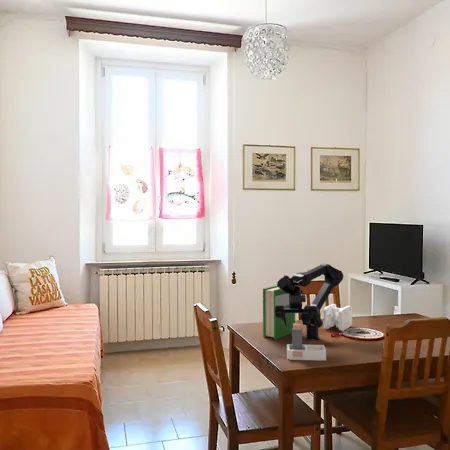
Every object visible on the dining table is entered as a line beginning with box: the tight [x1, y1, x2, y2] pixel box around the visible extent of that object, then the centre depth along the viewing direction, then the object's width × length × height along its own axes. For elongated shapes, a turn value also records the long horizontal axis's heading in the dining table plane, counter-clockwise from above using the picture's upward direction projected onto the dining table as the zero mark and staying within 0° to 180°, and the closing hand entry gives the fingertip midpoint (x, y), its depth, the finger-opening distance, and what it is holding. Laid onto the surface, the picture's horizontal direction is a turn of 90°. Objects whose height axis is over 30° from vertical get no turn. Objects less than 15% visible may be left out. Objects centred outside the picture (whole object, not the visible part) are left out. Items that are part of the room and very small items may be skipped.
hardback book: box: [262, 284, 296, 340], centre depth 237 cm, size 18×7×24 cm, turn 139°
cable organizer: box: [323, 303, 353, 332], centre depth 248 cm, size 15×11×12 cm
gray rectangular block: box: [291, 322, 303, 350], centre depth 202 cm, size 4×4×13 cm
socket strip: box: [286, 343, 327, 361], centre depth 202 cm, size 9×16×4 cm, turn 84°
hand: (296, 327), depth 209 cm, fingers open, 9 cm apart
